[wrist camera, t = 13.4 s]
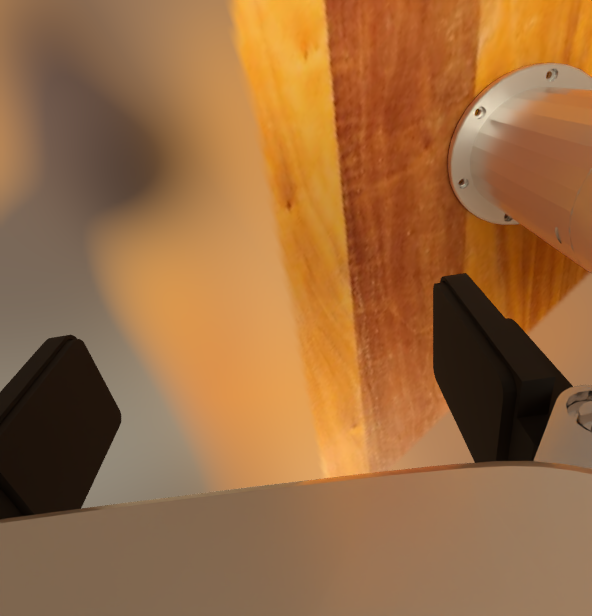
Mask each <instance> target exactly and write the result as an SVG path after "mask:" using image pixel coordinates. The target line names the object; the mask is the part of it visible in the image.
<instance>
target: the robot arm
mask: <svg viewBox="0 0 592 616" xmlns="http://www.w3.org/2000/svg"><path fill="white" fill-rule="evenodd" d="M547 73H549V75H548V77H547V78H546V75H547ZM476 109H479V113H478V114H477V115H475V111H476ZM448 173H449V179H450V184H451V186H452V189H453V191H454V194H455V195H456V197H457V198H458V200H459V201H460V203H461V204H462V205H463V206H464V207H465V208H466V209H467V210H468V211H470V212H471V213H472V214H474V215H475V216H477V217H478V218H480V219H482V220H485V221H487V222H490V223H495V224H500V225H517V224H521V225H523V226H524V227H525V228H527V229H528V230H530V231H531V232H533V233H534V234H535V235H537V236H538V237H540V238H541V239H543V240H544V241H545V242H547V243H548V244H550V245H551V246H553V247H554V248H555V249H557V250H558V251H560V252H561V253H563V254H564V255H565V256H567V257H568V258H570V259H571V260H573V261H574V262H575V263H577V264H578V265H580V266H581V267H583V268H584V269H586V270H587V271H588V272H590V273H592V77H591V76H589V75H588V74H586V73H585V72H583V71H582V70H581V69H578V68H575V67H572V66H570V65H567V64H557V63H539V64H533V65H529V66H525V67H521V68H518V69H516V70H514V71H512V72H509V73H507V74H505V75H503V76H502V77H500V78H499V79H497V80H496V81H494V82H493V83H491V84H490V85H489V86H488V87H486V88H485V89H484V90H483V91H482V92H481V93H480V94H479V95H478V96H477V97H476V98H475V99H474V100H473V102H472V103H471V104H470V105H469V107H468V108H467V109H466V111H465V112H464V114H463V116H462V117H461V119H460V121H459V122H458V124H457V127H456V129H455V132H454V134H453V137H452V139H451V144H450V149H449V153H448ZM461 179H463V181H462V183H461V184H458V183H459V181H460V180H461ZM505 214H506V215H505ZM433 368H434V374H435V378H436V381H437V383H438V385H439V387H440V389H441V391H442V394H443V396H444V398H445V400H446V402H447V404H448V406H449V408H450V411H451V413H452V415H453V417H454V419H455V421H456V423H457V425H458V427H459V430H460V432H461V434H462V436H463V438H464V440H465V442H466V444H467V447H468V449H469V451H470V453H471V455H472V457H473V459H474V461H475V463H467V464H451V465H442V466H430V467H421V468H412V469H404V470H394V471H384V472H375V473H366V474H358V475H349V476H341V477H333V478H324V479H316V480H307V481H299V482H291V483H282V484H274V485H265V486H257V487H249V488H241V489H233V490H225V491H216V492H209V493H201V494H192V495H185V496H177V497H168V498H161V499H153V500H145V501H137V502H128V503H121V504H113V505H105V506H98V507H90V508H82V509H81V507H82V505H83V503H84V501H85V499H86V496H87V494H88V492H89V490H90V488H91V486H92V484H93V482H94V479H95V477H96V475H97V473H98V470H99V469H100V467H101V464H102V462H103V460H104V458H105V456H106V454H107V452H108V449H109V447H110V445H111V443H112V441H113V439H114V437H115V435H116V432H117V430H118V428H119V426H120V423H121V413H120V410H119V408H118V406H117V405H116V402H115V401H114V399H113V397H112V395H111V393H110V391H109V389H108V387H107V386H106V383H105V382H104V380H103V378H102V376H101V374H100V372H99V370H98V368H97V366H96V365H95V363H94V361H93V359H92V357H91V355H90V353H89V351H88V350H87V348H86V346H85V344H84V342H83V341H82V340H80V339H77V338H76V337H75V336H73V335H67V336H60V337H54V338H49V339H47V340H46V341H45V342H44V343H43V344H42V346H41V347H40V348H39V349H38V350H37V351H36V352H35V354H34V355H33V356H32V357H31V358H30V359H29V360H28V362H26V364H25V365H24V366H23V367H22V368H21V369H20V370H19V372H18V373H17V374H16V375H15V376H14V377H13V379H11V381H10V382H9V383H8V384H7V385H6V386H5V387H4V389H3V390H2V391H1V392H0V616H592V385H581V386H575V387H573V386H572V385H571V384H570V383H569V381H568V380H567V379H566V378H565V377H564V376H563V375H562V374H561V372H560V371H559V370H558V369H557V368H556V367H555V366H554V365H553V364H552V362H551V361H550V360H549V359H548V358H547V357H546V356H545V354H544V353H543V352H542V351H541V350H540V349H539V348H538V347H537V346H536V344H535V343H534V342H533V341H532V340H531V339H530V338H529V336H528V335H527V334H526V333H525V332H524V331H523V330H522V329H521V327H520V326H519V325H518V324H517V323H516V322H515V321H514V320H512V319H509V318H508V319H505V318H504V316H503V315H502V314H501V313H500V312H499V311H498V309H497V308H496V307H495V306H494V305H493V304H492V303H491V301H490V300H489V299H488V298H487V297H486V296H485V294H484V293H483V292H482V291H481V290H480V289H479V287H478V286H477V285H476V284H475V283H474V282H473V280H472V279H471V278H470V277H469V276H468V275H467V274H466V273H463V274H457V275H451V276H444V277H442V278H441V281H440V283H436V284H434V288H433Z"/></svg>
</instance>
